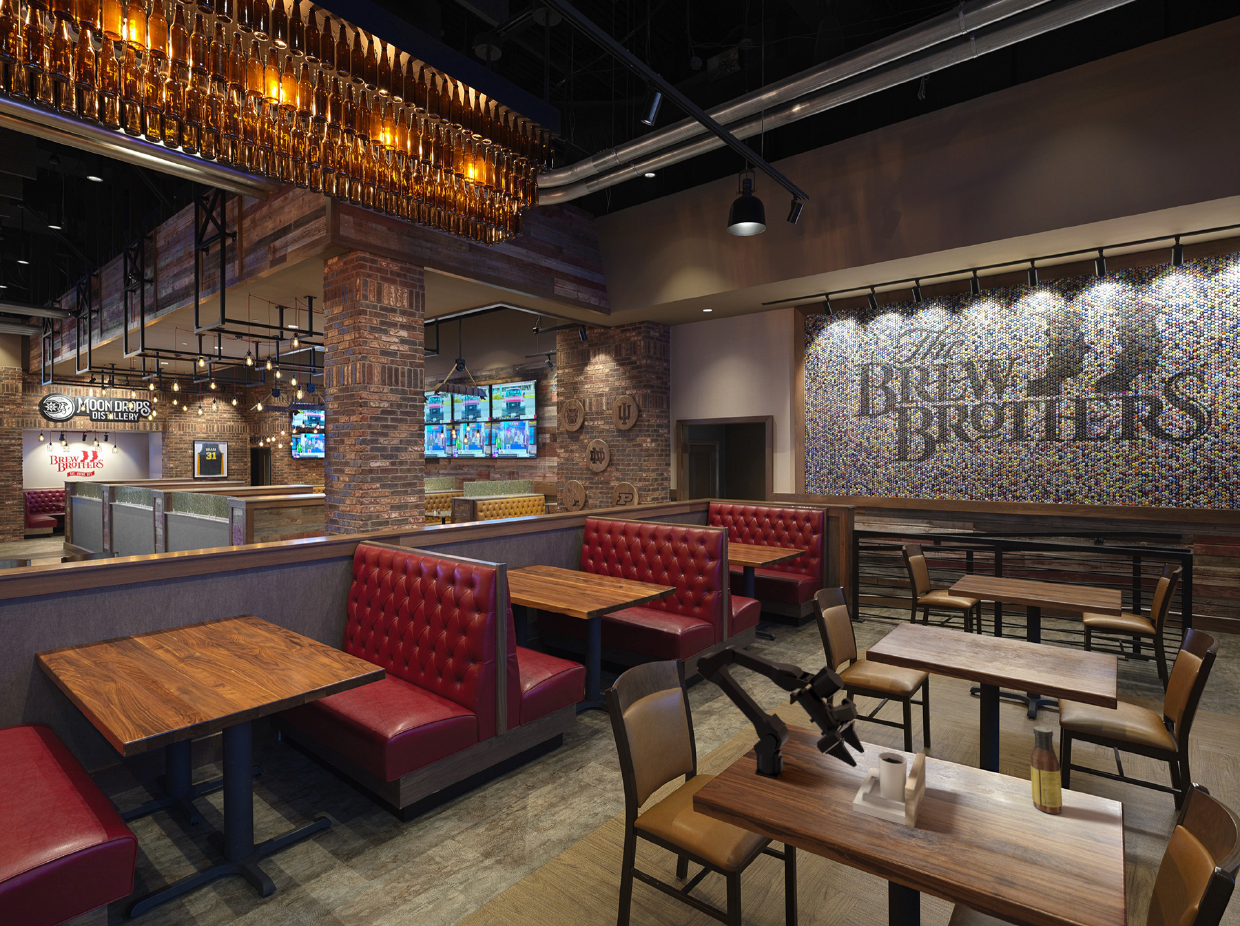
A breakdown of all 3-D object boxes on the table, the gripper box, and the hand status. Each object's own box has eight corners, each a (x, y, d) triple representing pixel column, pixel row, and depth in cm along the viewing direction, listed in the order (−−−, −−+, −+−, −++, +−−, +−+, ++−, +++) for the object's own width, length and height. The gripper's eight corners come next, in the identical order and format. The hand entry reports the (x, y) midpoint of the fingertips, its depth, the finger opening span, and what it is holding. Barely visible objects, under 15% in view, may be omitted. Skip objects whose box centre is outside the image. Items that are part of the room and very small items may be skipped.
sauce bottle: (1067, 810, 156) (1066, 731, 156) (1054, 818, 152) (1053, 736, 153) (1038, 799, 161) (1037, 722, 162) (1025, 805, 158) (1024, 727, 158)
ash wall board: (905, 825, 150) (904, 787, 150) (917, 785, 168) (917, 752, 168) (914, 827, 149) (913, 789, 149) (925, 787, 167) (925, 754, 167)
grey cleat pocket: (853, 810, 156) (852, 796, 156) (870, 774, 175) (870, 761, 175) (905, 825, 150) (904, 810, 150) (917, 785, 168) (917, 772, 168)
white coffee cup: (873, 796, 159) (873, 757, 159) (886, 788, 163) (886, 749, 163) (899, 807, 154) (899, 766, 154) (912, 798, 158) (911, 758, 158)
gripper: (829, 702, 158) (875, 756, 152) (846, 681, 174) (889, 729, 168) (798, 726, 162) (842, 780, 156) (817, 703, 178) (858, 751, 172)
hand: (859, 759), depth 163 cm, fingers open, 9 cm apart
